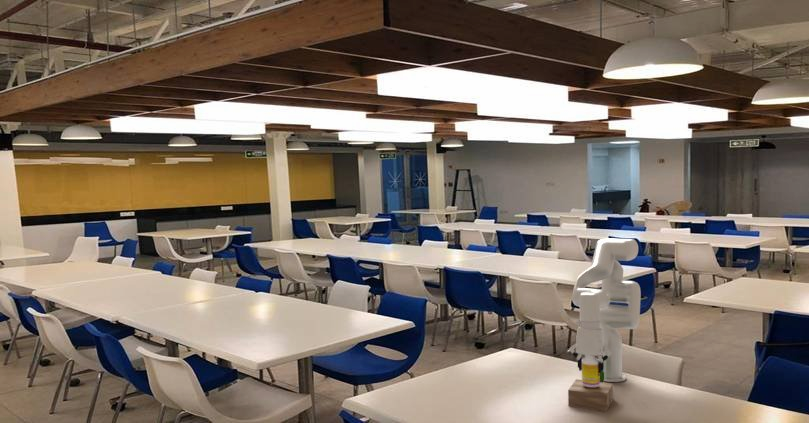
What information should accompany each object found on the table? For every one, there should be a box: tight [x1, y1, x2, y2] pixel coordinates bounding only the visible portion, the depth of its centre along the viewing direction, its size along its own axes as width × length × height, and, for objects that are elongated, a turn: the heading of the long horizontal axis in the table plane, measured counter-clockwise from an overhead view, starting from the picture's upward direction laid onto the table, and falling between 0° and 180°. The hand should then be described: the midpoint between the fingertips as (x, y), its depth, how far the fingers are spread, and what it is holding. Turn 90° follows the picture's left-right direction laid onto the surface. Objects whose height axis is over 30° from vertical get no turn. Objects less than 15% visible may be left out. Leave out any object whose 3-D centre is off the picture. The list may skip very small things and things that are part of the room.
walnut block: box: [567, 378, 614, 412], centre depth 237 cm, size 14×14×6 cm
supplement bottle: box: [581, 355, 600, 388], centre depth 237 cm, size 7×7×13 cm
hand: (590, 370), depth 237 cm, fingers closed on supplement bottle, 6 cm apart
